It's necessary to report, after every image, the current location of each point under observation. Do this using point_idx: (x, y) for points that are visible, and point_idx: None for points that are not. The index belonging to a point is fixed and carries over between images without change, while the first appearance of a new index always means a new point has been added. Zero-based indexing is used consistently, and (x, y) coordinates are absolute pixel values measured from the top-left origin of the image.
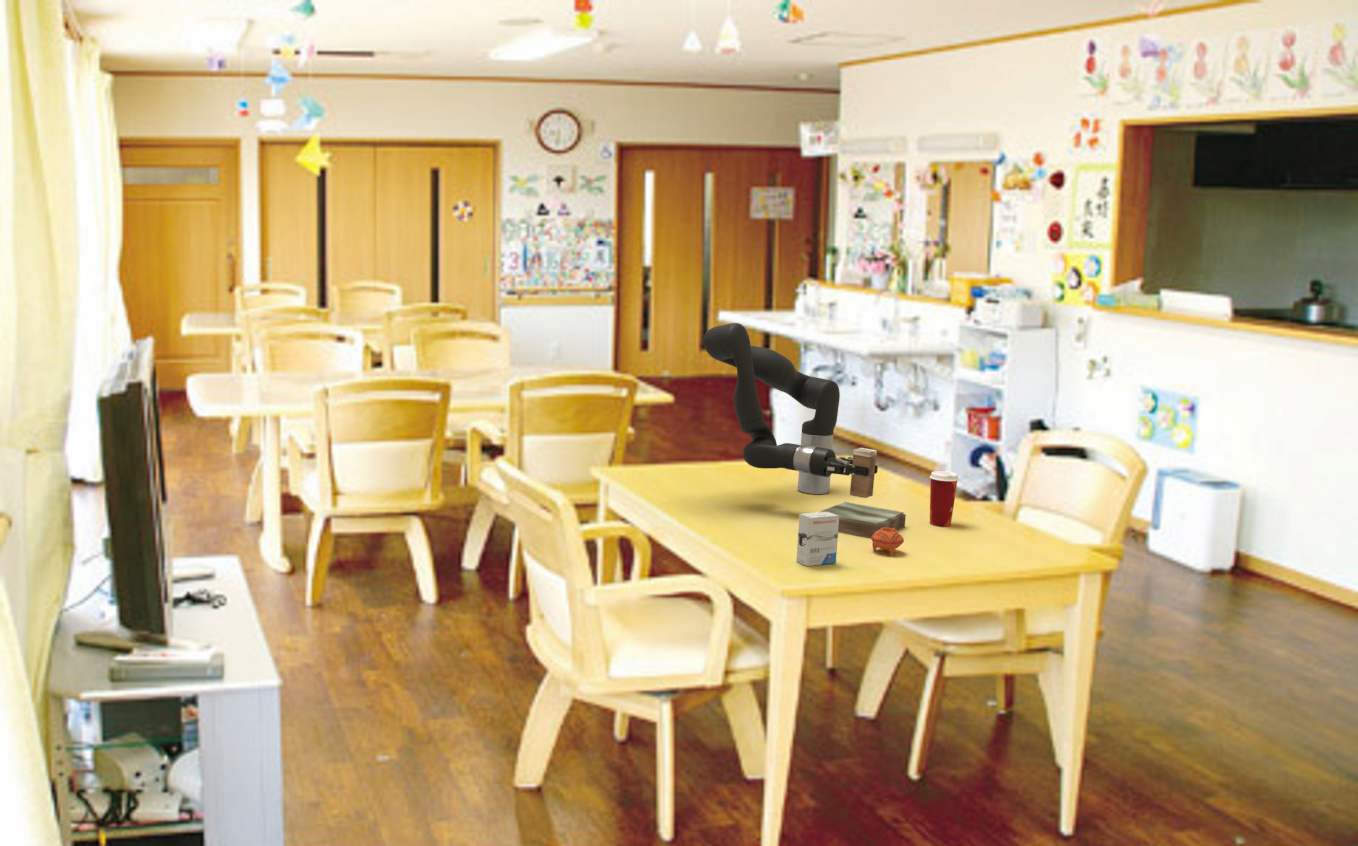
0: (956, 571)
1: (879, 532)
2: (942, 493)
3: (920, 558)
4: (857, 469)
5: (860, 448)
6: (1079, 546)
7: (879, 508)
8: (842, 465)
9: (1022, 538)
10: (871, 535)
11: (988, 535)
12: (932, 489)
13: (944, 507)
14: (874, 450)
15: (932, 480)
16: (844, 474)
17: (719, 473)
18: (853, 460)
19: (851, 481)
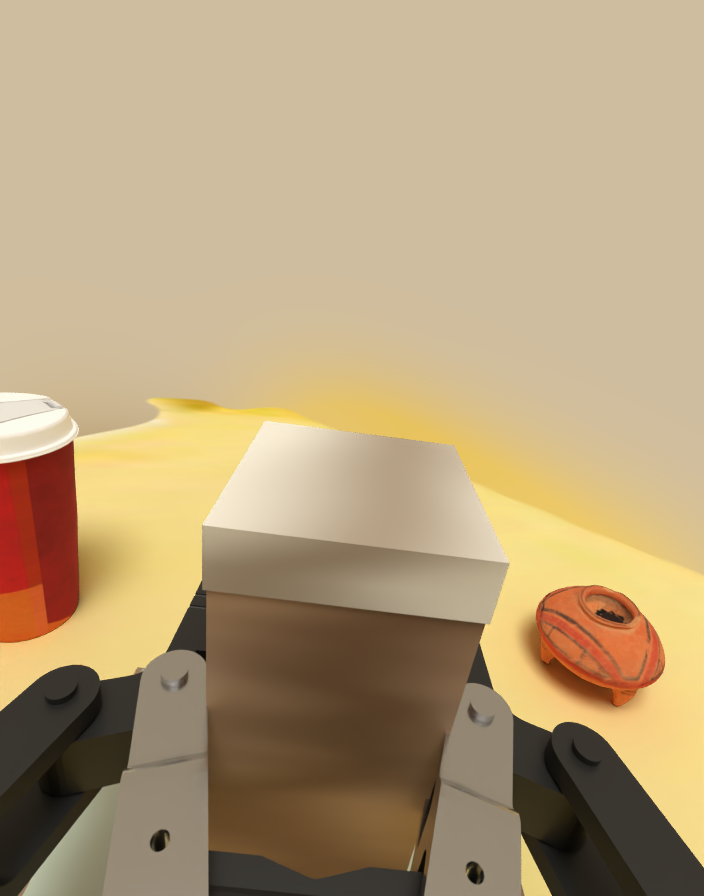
0: (544, 522)
1: (649, 632)
2: (74, 487)
3: (533, 584)
4: (484, 674)
5: (281, 520)
6: (183, 417)
7: (81, 819)
8: (672, 832)
9: (158, 463)
10: None
11: (159, 504)
12: (31, 505)
13: (77, 532)
14: (290, 430)
15: (24, 466)
16: (596, 856)
17: None
18: (463, 681)
19: (406, 861)
